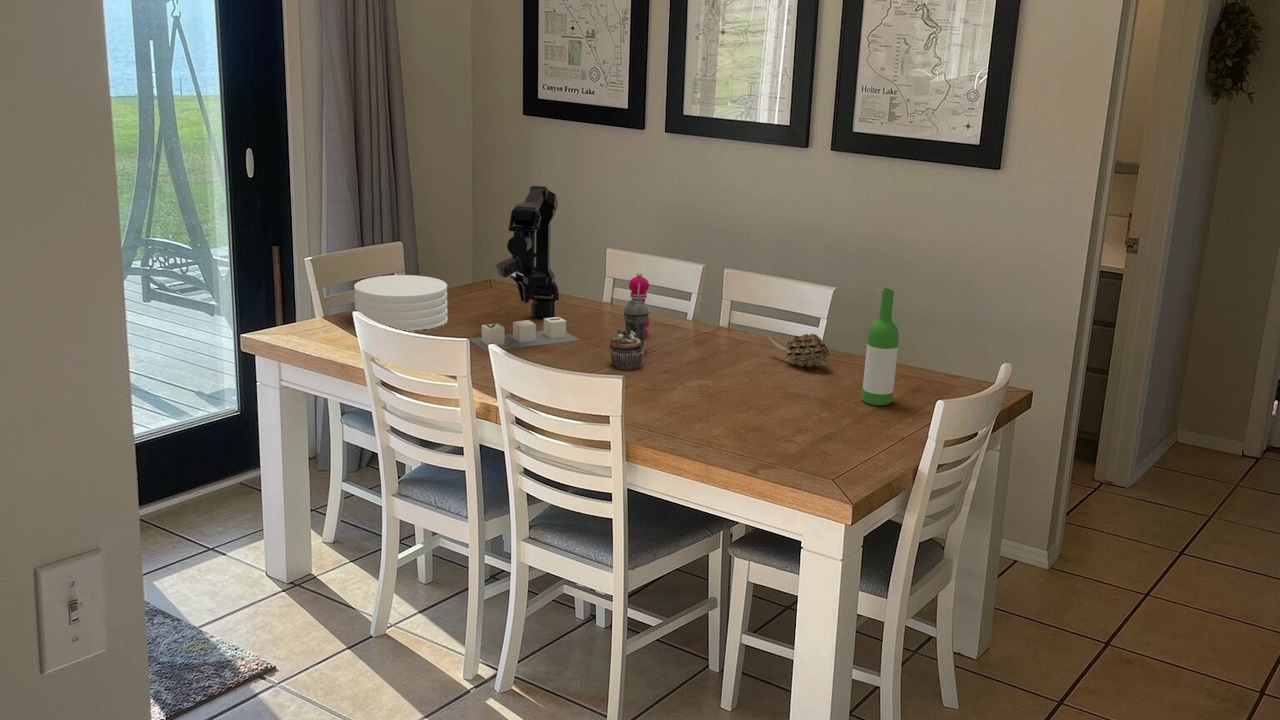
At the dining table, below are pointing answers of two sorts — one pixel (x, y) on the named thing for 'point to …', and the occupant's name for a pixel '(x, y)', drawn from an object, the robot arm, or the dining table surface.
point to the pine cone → (805, 350)
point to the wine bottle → (881, 355)
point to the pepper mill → (642, 291)
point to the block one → (554, 327)
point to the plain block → (524, 331)
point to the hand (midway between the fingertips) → (524, 301)
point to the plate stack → (403, 301)
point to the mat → (514, 343)
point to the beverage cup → (636, 317)
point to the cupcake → (626, 350)
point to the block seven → (493, 334)
